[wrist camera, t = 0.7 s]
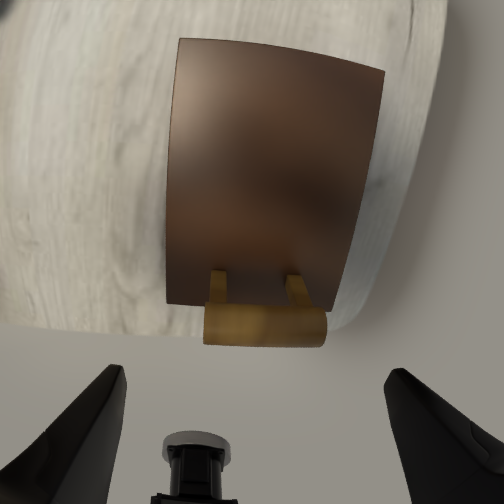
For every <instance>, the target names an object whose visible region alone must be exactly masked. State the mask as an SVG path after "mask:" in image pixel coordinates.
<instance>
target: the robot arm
mask: <svg viewBox="0 0 504 504" xmlns="http://www.w3.org/2000/svg"><path fill="white" fill-rule="evenodd" d="M126 390H127V382H126V378H125V373H124V369H123V367H122V366H121V365H115V364H110V365H109V366H108V367H106V369H105V370H104V371H103V372H102V373H101V374H100V375H99V376H98V377H97V378H96V379H95V380H94V381H93V382H92V383H91V384H90V385H89V386H88V387H87V388H86V389H85V390H84V391H83V392H82V393H81V394H80V395H79V396H78V397H77V398H76V399H75V400H74V401H73V402H72V403H71V404H70V405H69V406H68V407H67V408H66V409H65V410H64V411H63V412H62V414H60V415H59V416H58V417H57V419H55V420H54V422H53V423H52V424H51V425H50V426H49V427H48V428H47V429H46V430H45V432H43V433H42V434H41V435H40V436H39V437H38V438H37V439H36V440H35V441H34V442H33V443H32V444H31V445H30V446H29V447H28V448H27V449H26V450H24V451H23V452H22V453H21V454H20V455H19V456H18V457H16V458H15V459H14V460H13V461H11V462H10V463H9V464H8V465H6V466H5V467H4V468H3V469H1V470H0V504H106V503H107V497H108V492H109V486H110V482H111V477H112V472H113V467H114V462H115V458H116V453H117V448H118V444H119V440H120V435H121V430H122V424H123V414H124V406H125V397H126ZM384 394H385V398H386V403H387V408H388V414H389V419H390V423H391V428H392V431H393V435H394V438H395V442H396V445H397V449H398V452H399V456H400V459H401V463H402V467H403V470H404V473H405V478H406V482H407V485H408V489H409V493H410V497H411V501H412V504H504V443H503V442H501V441H499V440H498V439H496V438H495V437H493V436H492V435H490V434H489V433H487V432H486V431H484V430H483V429H482V428H480V427H479V426H478V425H476V424H475V423H474V422H473V421H470V419H469V418H467V417H466V416H465V415H463V414H462V413H461V412H460V411H458V410H457V409H456V408H454V407H453V406H452V405H451V404H449V403H448V402H447V401H445V400H444V399H443V398H442V397H440V396H439V395H438V394H436V393H435V392H434V391H433V390H431V389H430V388H429V387H427V386H426V385H425V384H424V383H422V382H421V381H420V380H418V379H417V378H416V377H415V376H413V375H412V374H411V373H409V372H408V371H407V370H405V369H404V368H397V369H393V370H392V371H391V373H390V375H389V376H388V378H387V380H386V382H385V384H384ZM167 454H168V459H169V463H170V468H171V482H170V495H165V494H162V493H157V496H151V504H238V501H237V499H232V500H222V488H221V472H223V467H224V460H225V449H223V448H204V447H188V446H176V445H168V446H167Z"/></svg>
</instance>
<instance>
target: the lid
mask: <svg viewBox="0 0 504 504" xmlns="http://www.w3.org/2000/svg"><path fill="white" fill-rule="evenodd" d="M384 76H385V71H383V70H380V69H376V68H373V67H370V66H366V65H362V64H359V63H355V62H351V61H348V60H344V59H340V58H335V57H331V56H327V55H322V54H318V53H313V52H308V51H303V50H297V49H292V48H286V47H279V46H273V45H266V44H258V43H250V42H241V41H230V40H218V39H200V38H180V39H179V44H178V52H177V60H176V68H175V77H174V87H173V97H172V108H171V120H170V133H169V148H168V166H167V191H166V302H167V304H177V305H190V306H204V307H205V313H204V332H203V344H207V345H223V346H247V347H249V346H250V347H321V346H322V345H323V344H324V342H325V339H326V335H327V317H326V313H325V312H331V311H332V308H333V305H334V302H335V299H336V295H337V292H338V288H339V285H340V282H341V278H342V275H343V271H344V268H345V264H346V260H347V257H348V253H349V249H350V245H351V242H352V238H353V234H354V230H355V226H356V222H357V218H358V214H359V210H360V205H361V201H362V197H363V192H364V188H365V183H366V179H367V174H368V169H369V164H370V159H371V154H372V149H373V144H374V139H375V133H376V128H377V122H378V116H379V110H380V104H381V97H382V91H383V84H384Z"/></svg>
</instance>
